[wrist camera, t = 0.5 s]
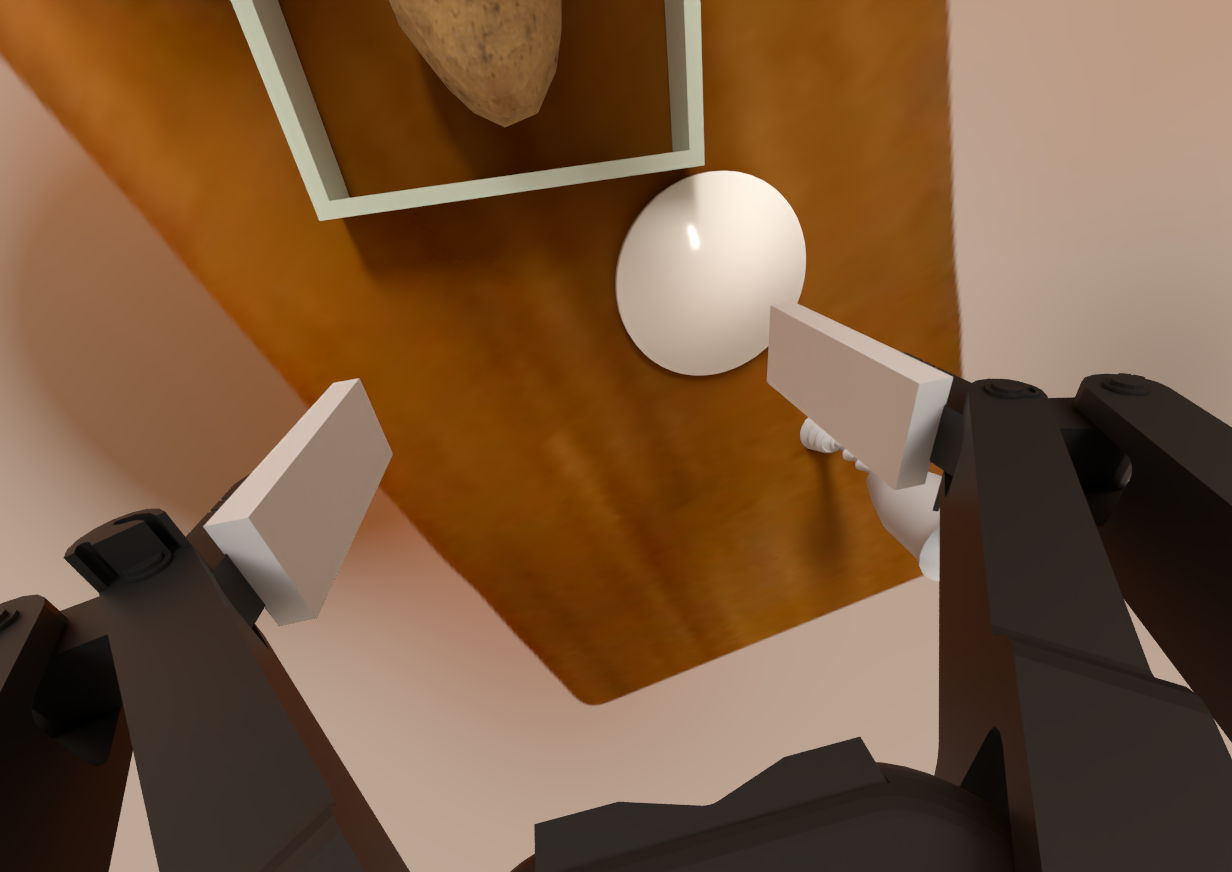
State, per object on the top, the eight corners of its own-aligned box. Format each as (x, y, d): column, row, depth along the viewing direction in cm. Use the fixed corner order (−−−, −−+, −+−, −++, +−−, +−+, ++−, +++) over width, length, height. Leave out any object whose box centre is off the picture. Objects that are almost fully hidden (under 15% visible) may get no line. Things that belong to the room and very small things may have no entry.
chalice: (865, 428, 49) (1022, 541, 34) (813, 469, 51) (940, 596, 35) (833, 384, 46) (992, 487, 30) (779, 429, 47) (903, 549, 32)
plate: (602, 187, 34) (604, 187, 33) (805, 157, 36) (814, 156, 35) (626, 385, 42) (629, 390, 41) (792, 354, 44) (798, 358, 43)
